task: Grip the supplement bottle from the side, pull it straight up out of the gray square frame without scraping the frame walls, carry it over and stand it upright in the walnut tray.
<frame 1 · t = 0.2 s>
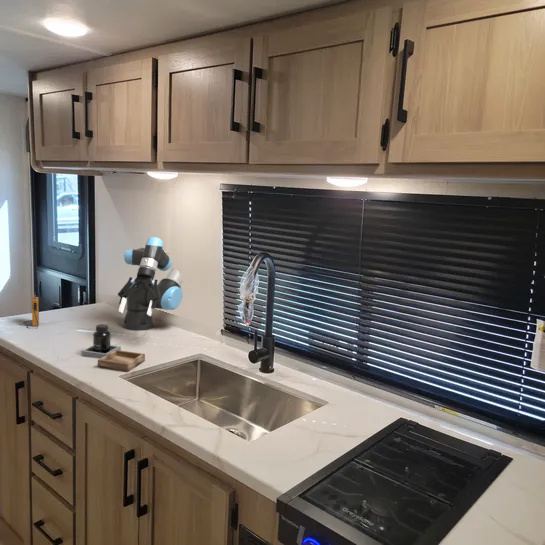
hand: (134, 313, 214), 15 cm above the worktop, tool tilted 35°, fingers open, 13 cm apart
multimeter: (27, 325, 238), on the worktop
supplement bottle: (101, 353, 205), resting in gray square frame
gray square frame: (101, 353, 205), on the worktop
walnut tray: (121, 364, 194), on the worktop
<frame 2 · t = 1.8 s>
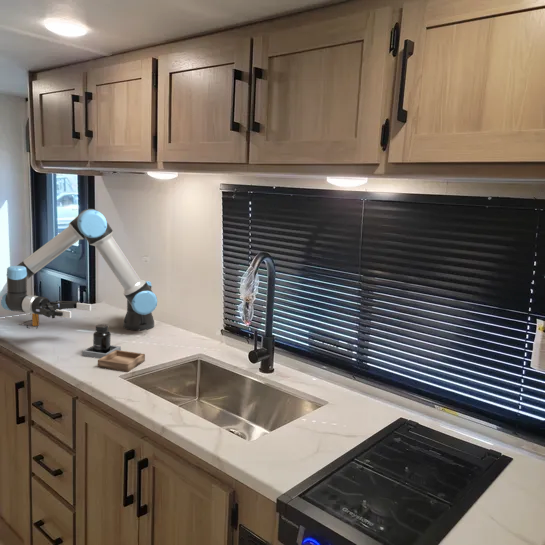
hand: (80, 311, 205), 17 cm above the worktop, tool horizontal, fingers open, 13 cm apart
nothing on the worktop moved.
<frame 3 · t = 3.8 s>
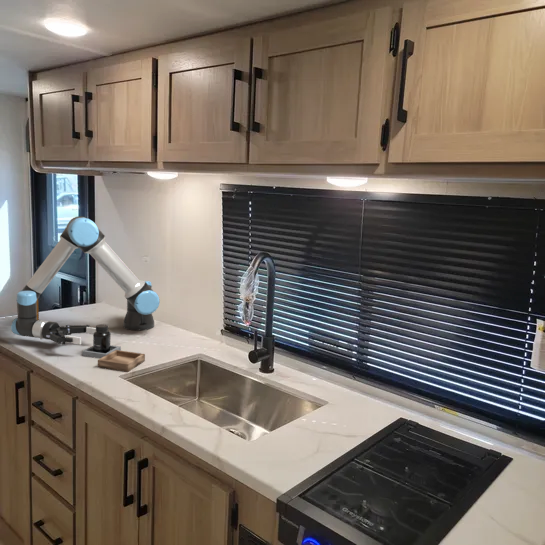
hand: (90, 336, 205), 7 cm above the worktop, tool horizontal, fingers open, 13 cm apart
nothing on the worktop moved.
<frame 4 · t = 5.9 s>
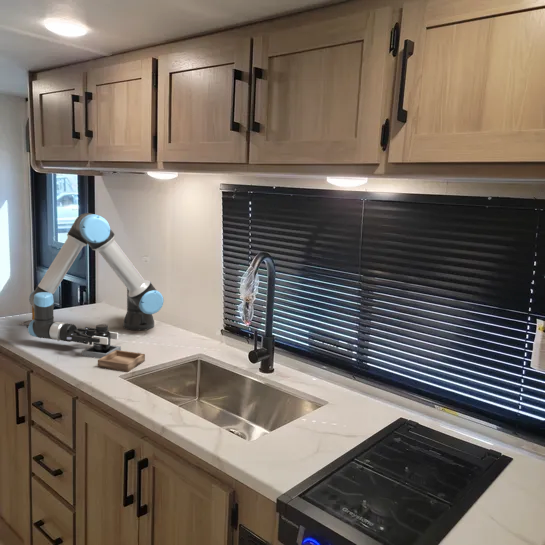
hand: (112, 338, 203), 7 cm above the worktop, tool horizontal, fingers closed on supplement bottle, 7 cm apart
supplement bottle: (101, 353, 205), resting in gray square frame, touching gripper
everything else where it was.
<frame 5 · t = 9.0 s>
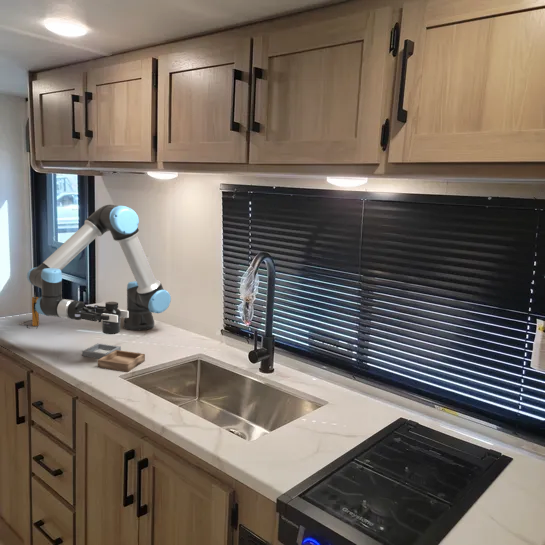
hand: (122, 316, 192), 19 cm above the worktop, tool horizontal, fingers closed on supplement bottle, 7 cm apart
supplement bottle: (111, 332, 195), point 12 cm above the worktop, touching gripper
everything else where it was.
when the fingers open (9 cm above the worktop, at t = 11.9 s): supplement bottle drops 1 cm, resting on walnut tray.
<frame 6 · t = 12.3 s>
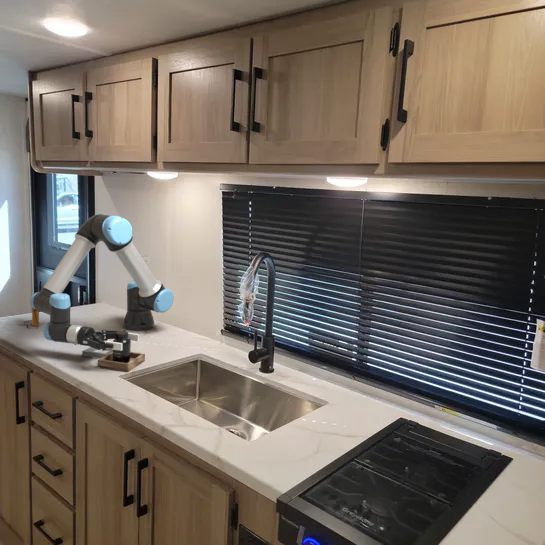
hand: (130, 342, 192), 9 cm above the worktop, tool horizontal, fingers open, 12 cm apart
supplement bottle: (121, 362, 194), point 1 cm above the worktop, touching walnut tray
everything else where it was.
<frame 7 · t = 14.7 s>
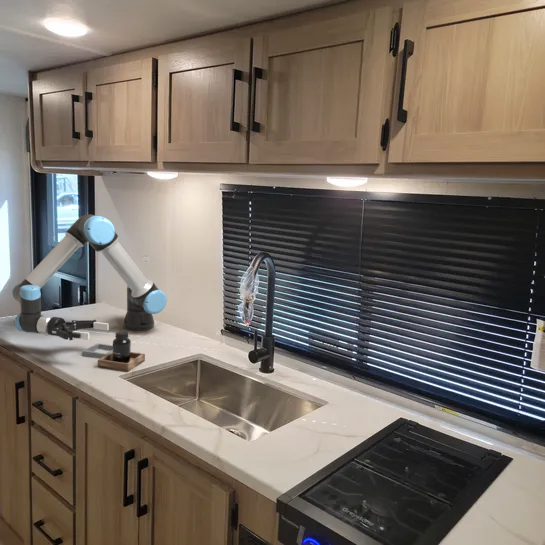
hand: (98, 331, 196), 12 cm above the worktop, tool horizontal, fingers open, 13 cm apart
nothing on the worktop moved.
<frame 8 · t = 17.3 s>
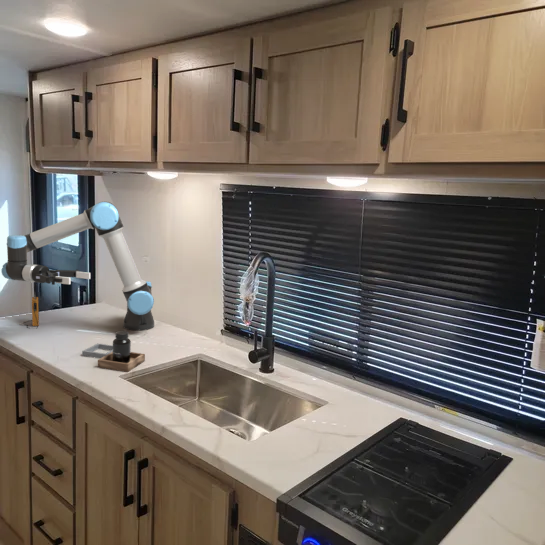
hand: (80, 278, 207), 30 cm above the worktop, tool horizontal, fingers open, 13 cm apart
nothing on the worktop moved.
at the end: supplement bottle inside the target area on the walnut tray (0.1 cm from its centre), point 0.8 cm above the walnut tray's base; supplement bottle tilted 0°; the gripper is holding nothing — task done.
